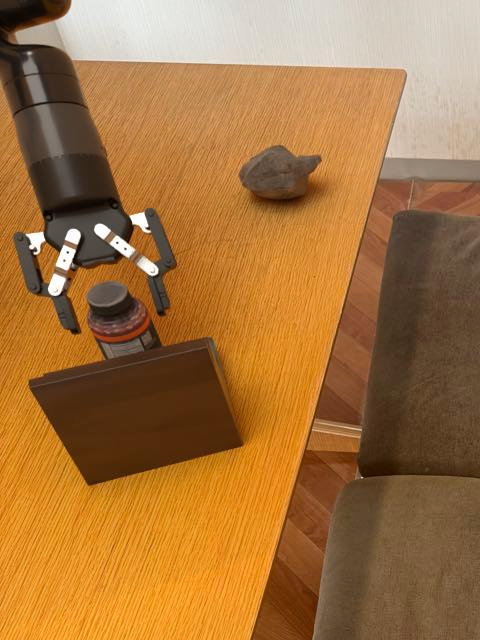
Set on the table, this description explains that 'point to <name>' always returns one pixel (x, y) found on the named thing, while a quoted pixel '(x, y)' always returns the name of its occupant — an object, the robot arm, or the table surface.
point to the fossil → (278, 173)
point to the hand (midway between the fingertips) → (120, 324)
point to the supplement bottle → (119, 321)
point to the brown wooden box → (140, 409)
